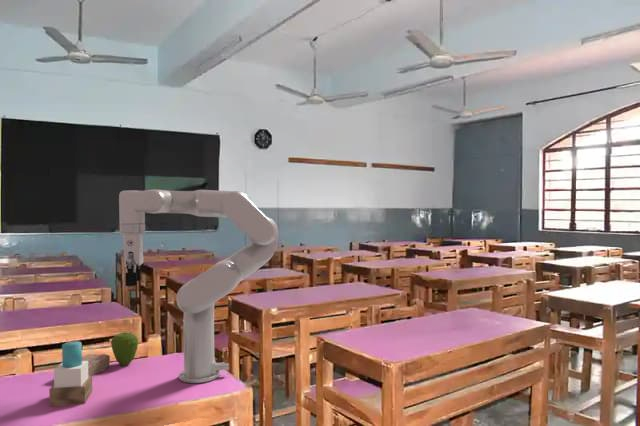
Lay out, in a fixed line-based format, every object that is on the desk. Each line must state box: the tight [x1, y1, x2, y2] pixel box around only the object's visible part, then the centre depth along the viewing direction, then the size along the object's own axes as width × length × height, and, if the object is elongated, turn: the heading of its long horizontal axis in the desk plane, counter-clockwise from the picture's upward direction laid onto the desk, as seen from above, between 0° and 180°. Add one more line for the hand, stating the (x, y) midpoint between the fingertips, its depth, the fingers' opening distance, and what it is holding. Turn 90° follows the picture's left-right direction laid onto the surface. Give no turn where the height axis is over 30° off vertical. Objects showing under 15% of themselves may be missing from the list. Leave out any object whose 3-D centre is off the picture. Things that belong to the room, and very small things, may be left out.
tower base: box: [49, 376, 93, 407], centre depth 144 cm, size 9×9×5 cm
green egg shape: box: [110, 331, 139, 366], centre depth 174 cm, size 9×8×12 cm
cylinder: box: [61, 341, 83, 368], centre depth 144 cm, size 5×5×6 cm
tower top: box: [53, 361, 88, 388], centre depth 144 cm, size 7×7×5 cm
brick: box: [82, 353, 111, 377], centre depth 165 cm, size 17×8×5 cm, turn 167°
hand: (133, 283), depth 160 cm, fingers open, 9 cm apart
